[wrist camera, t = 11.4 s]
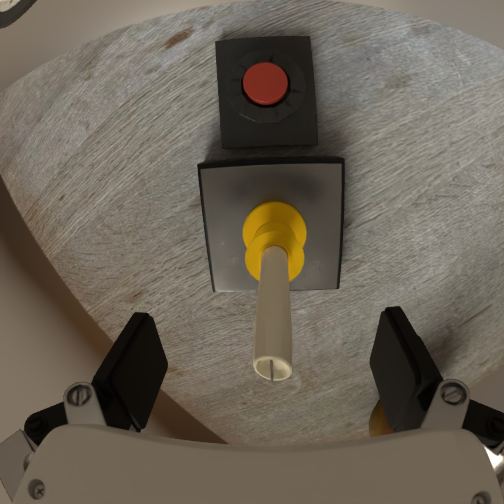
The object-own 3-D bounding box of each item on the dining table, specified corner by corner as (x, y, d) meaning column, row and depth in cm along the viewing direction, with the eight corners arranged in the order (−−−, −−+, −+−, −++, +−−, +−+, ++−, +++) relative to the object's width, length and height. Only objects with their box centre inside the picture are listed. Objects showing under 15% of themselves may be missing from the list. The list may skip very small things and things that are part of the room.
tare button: (244, 68, 19) (241, 63, 17) (285, 66, 18) (286, 61, 17) (246, 106, 20) (244, 103, 18) (288, 104, 20) (289, 101, 18)
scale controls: (217, 45, 20) (210, 34, 17) (308, 40, 19) (312, 29, 17) (224, 148, 24) (218, 150, 21) (316, 144, 23) (321, 145, 20)
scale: (203, 161, 24) (194, 165, 22) (338, 155, 23) (346, 158, 21) (217, 280, 29) (211, 295, 26) (334, 277, 28) (340, 292, 25)
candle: (256, 268, 25) (234, 426, 11) (233, 213, 23) (172, 344, 9) (313, 249, 24) (355, 402, 10) (294, 192, 22) (329, 303, 8)
